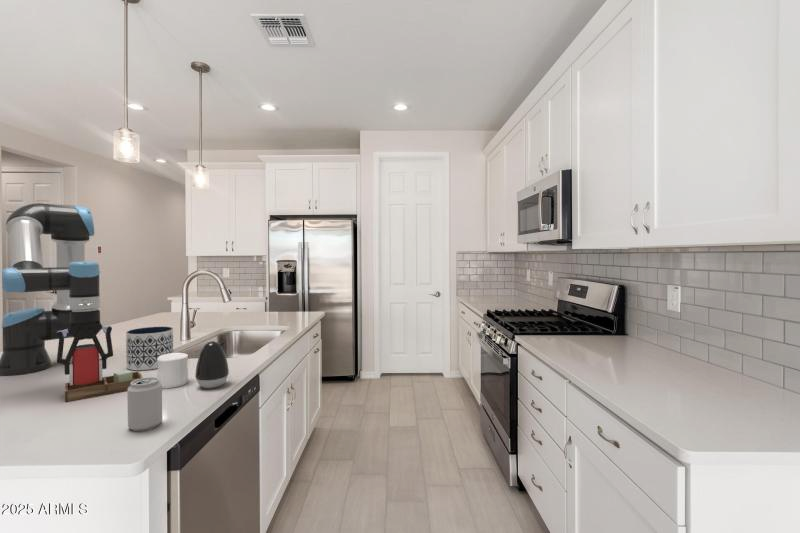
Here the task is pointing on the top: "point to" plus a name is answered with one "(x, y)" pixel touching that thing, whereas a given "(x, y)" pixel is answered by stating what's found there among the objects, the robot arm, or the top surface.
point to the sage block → (123, 376)
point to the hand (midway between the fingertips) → (86, 381)
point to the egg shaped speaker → (212, 366)
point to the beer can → (85, 365)
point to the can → (144, 403)
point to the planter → (147, 347)
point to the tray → (98, 388)
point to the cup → (172, 370)
